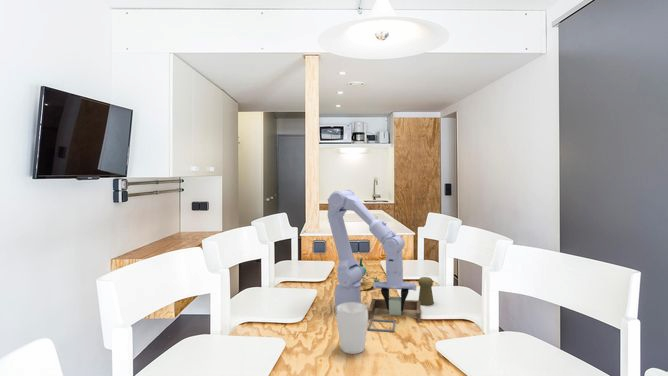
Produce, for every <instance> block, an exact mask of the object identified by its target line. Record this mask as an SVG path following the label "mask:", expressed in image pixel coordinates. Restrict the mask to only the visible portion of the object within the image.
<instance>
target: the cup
mask: <svg viewBox="0 0 668 376" xmlns="http://www.w3.org/2000/svg"><path fill="white" fill-rule="evenodd" d="M335 318H336V324H337V331H338V336H339V337H338V338H339V343H340V348H341V351H342V352H343V353H346V354H351V355H355V354H356V355H357V354H359V353H362V352H364V350H365V348H366V339H367V338H366V337H367V332H368V331H367V329H368V321H369V319H368V306H367V305H366V304H365V303H362V302H361V303H357V302H347V303H342V304H340V305H338V306H337V312H336V316H335Z"/></svg>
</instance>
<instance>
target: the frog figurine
mask: <svg viewBox="0 0 668 376" xmlns="http://www.w3.org/2000/svg"><path fill="white" fill-rule="evenodd" d="M359 266H360V267H361V268H362V270H363V278H362V281H361V291H365V290H369V289H371V288H374V282H381V281H380V280H379V278H377V277H378V276H375V278H374V277H373V276H371V277H369V278H367V279H366V278H365V277H364V276H366V277H368V276H369V275H368V273H367V272H368V270H367V269H366V267H365V266H364V264H363V257H359ZM364 279H365V280H364ZM370 279H374V281H369V280H370Z"/></svg>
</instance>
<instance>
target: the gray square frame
mask: <svg viewBox="0 0 668 376" xmlns="http://www.w3.org/2000/svg"><path fill="white" fill-rule="evenodd" d="M373 322H376V323H377V322H378V323H391V324H392V323H393V324H392V329H386V328H385V329H384V328H371V326H372V324H373ZM396 323H397V321H396V319H378V318H377V319H376V318H372V319H369V323H368V324H367V331H366V332H379V333H395V330H396Z"/></svg>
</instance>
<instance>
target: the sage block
mask: <svg viewBox="0 0 668 376" xmlns="http://www.w3.org/2000/svg"><path fill="white" fill-rule="evenodd" d="M401 312H402V311H401V296H389V315H401Z"/></svg>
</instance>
